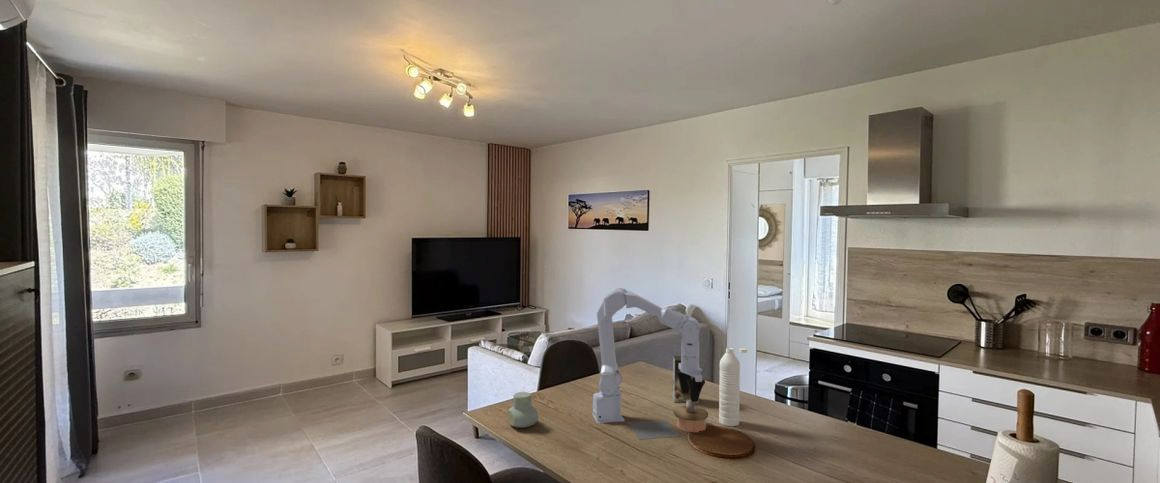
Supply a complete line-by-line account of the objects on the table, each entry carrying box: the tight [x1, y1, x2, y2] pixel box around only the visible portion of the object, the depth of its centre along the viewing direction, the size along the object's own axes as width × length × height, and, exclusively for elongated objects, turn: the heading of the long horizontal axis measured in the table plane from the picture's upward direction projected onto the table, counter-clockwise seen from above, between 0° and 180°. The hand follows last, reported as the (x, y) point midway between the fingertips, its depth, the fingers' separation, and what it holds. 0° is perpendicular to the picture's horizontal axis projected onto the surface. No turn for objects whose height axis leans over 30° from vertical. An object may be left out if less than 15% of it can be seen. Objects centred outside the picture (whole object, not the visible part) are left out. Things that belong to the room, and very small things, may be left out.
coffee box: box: [671, 355, 699, 405], centre depth 181 cm, size 9×6×16 cm
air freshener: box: [506, 391, 539, 429], centre depth 159 cm, size 11×8×10 cm
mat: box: [627, 419, 681, 441], centre depth 154 cm, size 13×13×1 cm
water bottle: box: [718, 347, 748, 427], centre depth 160 cm, size 9×6×25 cm
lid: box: [673, 400, 709, 421], centre depth 156 cm, size 11×11×4 cm
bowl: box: [676, 417, 707, 433], centre depth 156 cm, size 9×9×4 cm
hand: (689, 397), depth 157 cm, fingers open, 7 cm apart
